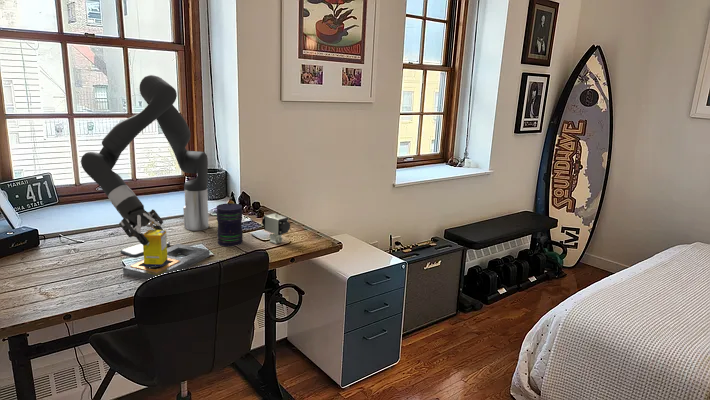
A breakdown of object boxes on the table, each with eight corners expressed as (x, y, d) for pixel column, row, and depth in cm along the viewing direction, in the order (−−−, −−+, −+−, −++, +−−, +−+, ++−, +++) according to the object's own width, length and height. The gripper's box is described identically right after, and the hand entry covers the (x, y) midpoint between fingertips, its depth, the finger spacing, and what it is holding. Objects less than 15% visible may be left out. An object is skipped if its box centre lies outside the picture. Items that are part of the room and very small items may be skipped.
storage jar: (241, 246, 189) (241, 209, 185) (216, 246, 187) (214, 210, 183) (243, 238, 198) (242, 203, 195) (218, 238, 197) (217, 203, 193)
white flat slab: (134, 259, 173) (171, 246, 186) (133, 255, 173) (171, 242, 186) (119, 254, 178) (156, 241, 191) (118, 250, 177) (156, 238, 190)
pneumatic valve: (281, 247, 190) (282, 218, 187) (261, 240, 197) (261, 212, 194) (291, 243, 194) (292, 215, 191) (271, 237, 201) (271, 209, 198)
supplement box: (150, 260, 164) (148, 229, 162) (168, 260, 165) (166, 229, 162) (143, 266, 159) (141, 234, 156) (162, 266, 159) (160, 235, 157)
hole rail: (123, 274, 159) (122, 266, 158) (177, 249, 182) (177, 242, 182) (158, 282, 154) (157, 274, 153) (209, 256, 177) (209, 249, 177)
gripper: (114, 199, 153) (145, 240, 152) (147, 190, 166) (176, 228, 165) (102, 213, 156) (133, 253, 155) (136, 203, 169) (164, 240, 168)
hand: (155, 240), depth 160 cm, fingers closed on supplement box, 7 cm apart
